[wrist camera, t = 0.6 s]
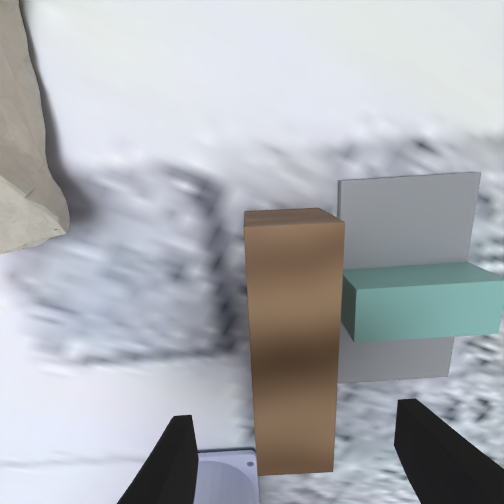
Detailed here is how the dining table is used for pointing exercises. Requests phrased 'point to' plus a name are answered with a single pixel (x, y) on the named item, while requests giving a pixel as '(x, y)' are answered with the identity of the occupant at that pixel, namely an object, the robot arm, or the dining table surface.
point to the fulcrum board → (403, 241)
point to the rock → (24, 147)
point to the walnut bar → (294, 335)
